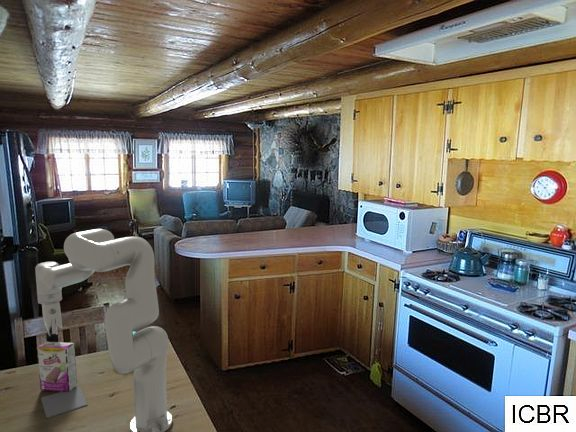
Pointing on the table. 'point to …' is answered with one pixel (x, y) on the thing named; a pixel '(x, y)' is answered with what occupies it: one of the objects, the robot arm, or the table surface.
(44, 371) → the candy bar box
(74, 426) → the table surface
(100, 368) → the table surface
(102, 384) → the table surface
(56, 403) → the rubber mat
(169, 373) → the table surface
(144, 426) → the robot arm
